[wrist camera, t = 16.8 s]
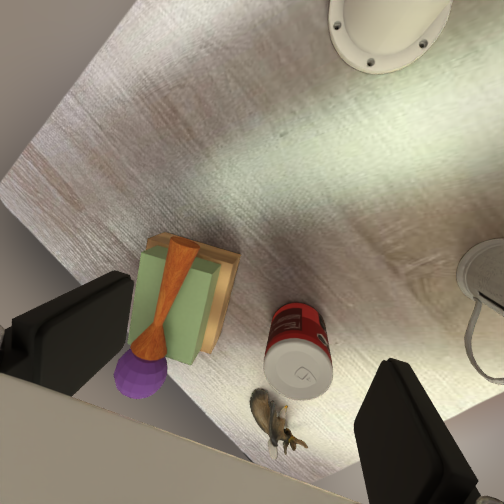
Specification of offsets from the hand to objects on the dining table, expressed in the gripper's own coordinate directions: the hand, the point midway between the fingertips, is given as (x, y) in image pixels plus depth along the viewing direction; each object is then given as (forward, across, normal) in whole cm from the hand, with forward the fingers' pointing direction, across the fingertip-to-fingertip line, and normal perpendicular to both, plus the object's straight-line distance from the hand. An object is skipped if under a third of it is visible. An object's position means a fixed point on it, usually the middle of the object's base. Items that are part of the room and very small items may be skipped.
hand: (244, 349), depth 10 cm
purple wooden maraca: (+22, +11, +13) cm, 27 cm away
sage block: (+25, +11, +13) cm, 30 cm away
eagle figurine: (+31, -7, +30) cm, 43 cm away
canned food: (+31, -6, +14) cm, 34 cm away
